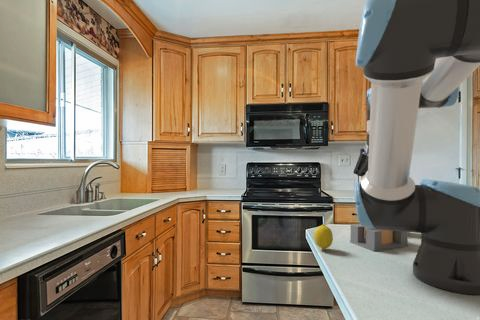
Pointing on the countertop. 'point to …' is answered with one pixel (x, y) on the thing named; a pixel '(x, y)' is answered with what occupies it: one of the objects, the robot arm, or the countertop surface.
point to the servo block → (384, 236)
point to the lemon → (323, 237)
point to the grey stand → (376, 238)
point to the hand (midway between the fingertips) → (378, 196)
